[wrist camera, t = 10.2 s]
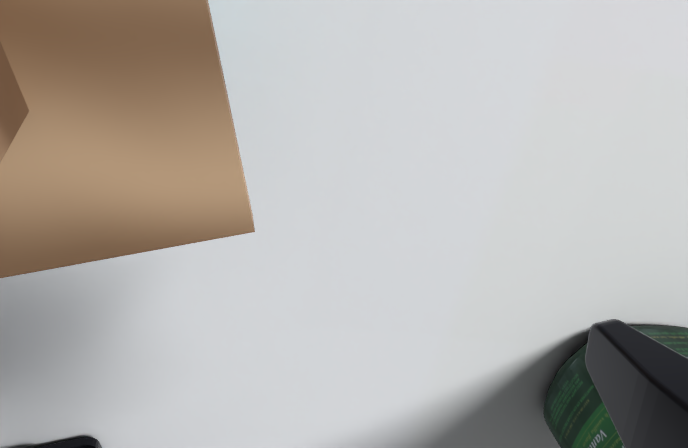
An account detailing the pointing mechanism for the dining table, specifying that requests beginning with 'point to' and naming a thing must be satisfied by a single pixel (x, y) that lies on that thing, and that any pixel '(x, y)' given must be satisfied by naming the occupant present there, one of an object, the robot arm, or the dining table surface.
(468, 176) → the dining table surface
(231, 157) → the lid
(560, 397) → the coffee jar
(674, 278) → the dining table surface
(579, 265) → the dining table surface
